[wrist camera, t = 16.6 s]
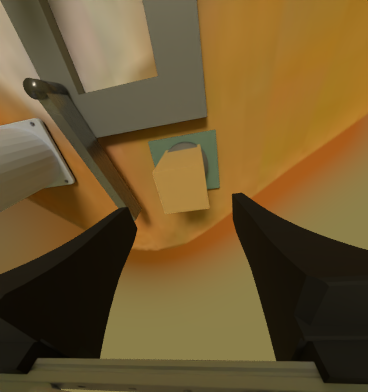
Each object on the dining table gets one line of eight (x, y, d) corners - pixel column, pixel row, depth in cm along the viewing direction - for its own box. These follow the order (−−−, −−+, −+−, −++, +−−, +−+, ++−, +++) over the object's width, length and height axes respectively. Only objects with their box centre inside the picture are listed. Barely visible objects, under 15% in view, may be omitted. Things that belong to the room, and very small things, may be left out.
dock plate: (79, 140, 19) (72, 142, 17) (-14, -53, 12) (-35, -68, 11) (206, 115, 17) (207, 116, 16) (182, -133, 10) (181, -162, 9)
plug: (170, 186, 20) (160, 220, 14) (159, 146, 18) (142, 166, 12) (209, 180, 20) (217, 213, 14) (204, 137, 17) (210, 154, 11)
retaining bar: (49, 87, 15) (19, 83, 12) (60, 79, 14) (31, 74, 12) (134, 210, 22) (126, 224, 19) (143, 207, 21) (136, 221, 19)
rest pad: (163, 193, 22) (162, 194, 21) (148, 141, 18) (148, 142, 18) (219, 186, 21) (219, 187, 20) (215, 129, 17) (215, 130, 17)
